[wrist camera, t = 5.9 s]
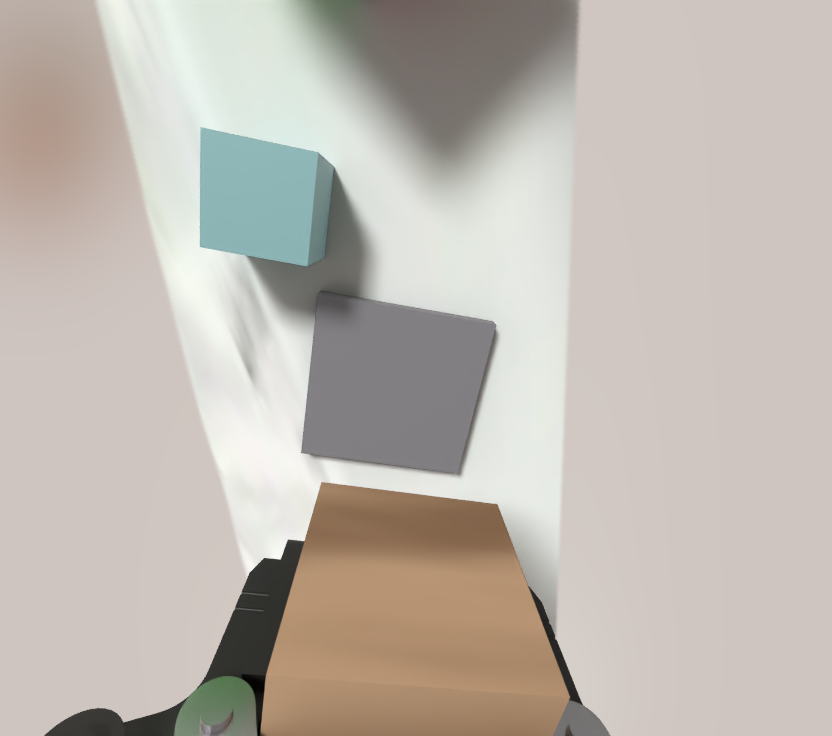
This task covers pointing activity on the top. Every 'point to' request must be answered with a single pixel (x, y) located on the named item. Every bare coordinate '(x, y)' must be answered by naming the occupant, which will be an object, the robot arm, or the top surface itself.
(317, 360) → the mat
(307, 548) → the tan block
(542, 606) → the robot arm
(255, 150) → the teal block
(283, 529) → the top surface
